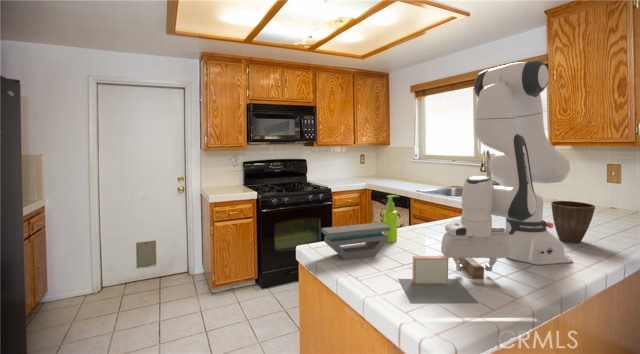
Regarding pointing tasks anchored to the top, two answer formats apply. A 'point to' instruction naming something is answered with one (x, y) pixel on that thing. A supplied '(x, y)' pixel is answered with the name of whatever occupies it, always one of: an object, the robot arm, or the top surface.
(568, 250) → the top surface
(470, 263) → the turner
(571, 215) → the plant pot
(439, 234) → the top surface
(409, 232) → the top surface
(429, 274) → the tile
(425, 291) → the mat
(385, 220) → the soap dispenser
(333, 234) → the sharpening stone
